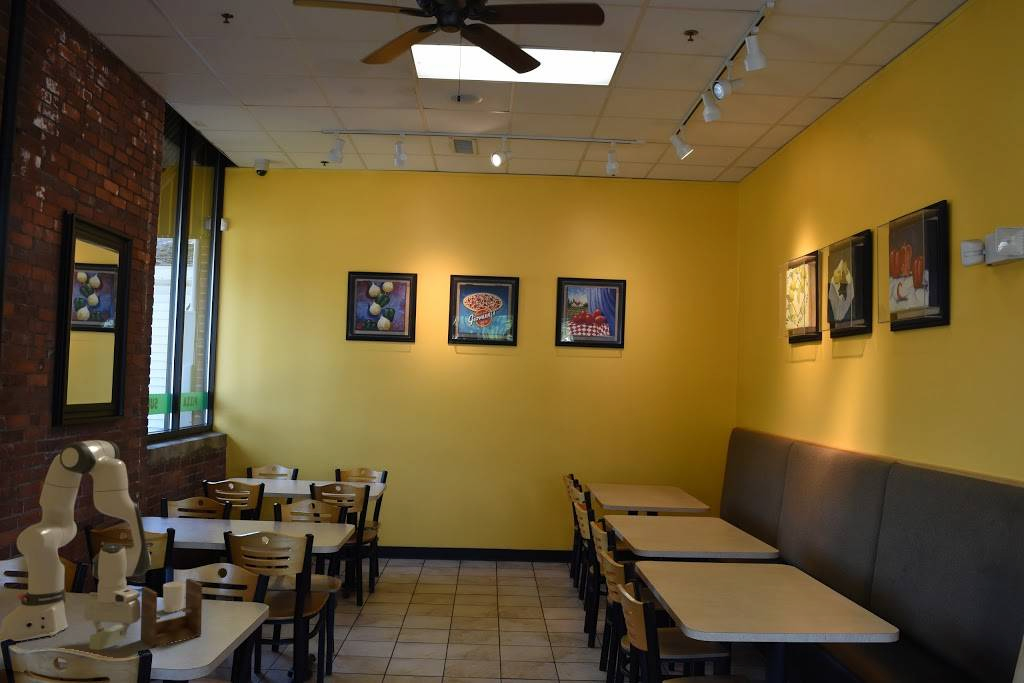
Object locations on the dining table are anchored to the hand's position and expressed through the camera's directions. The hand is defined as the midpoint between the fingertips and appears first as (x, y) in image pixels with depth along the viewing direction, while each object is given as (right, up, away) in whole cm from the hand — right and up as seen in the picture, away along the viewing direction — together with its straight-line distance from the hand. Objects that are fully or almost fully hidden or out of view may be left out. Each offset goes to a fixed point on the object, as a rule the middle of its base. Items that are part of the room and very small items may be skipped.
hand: (111, 634), depth 258 cm
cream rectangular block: (-1, -3, -1) cm, 3 cm away
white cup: (+5, -5, +36) cm, 37 cm away
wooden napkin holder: (+18, -3, +4) cm, 19 cm away
